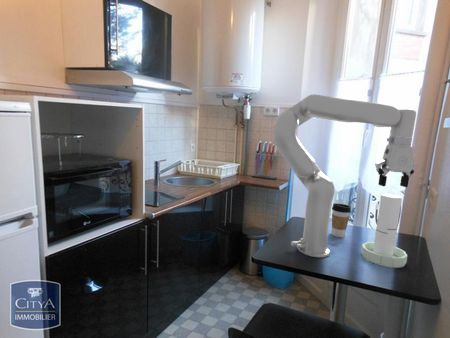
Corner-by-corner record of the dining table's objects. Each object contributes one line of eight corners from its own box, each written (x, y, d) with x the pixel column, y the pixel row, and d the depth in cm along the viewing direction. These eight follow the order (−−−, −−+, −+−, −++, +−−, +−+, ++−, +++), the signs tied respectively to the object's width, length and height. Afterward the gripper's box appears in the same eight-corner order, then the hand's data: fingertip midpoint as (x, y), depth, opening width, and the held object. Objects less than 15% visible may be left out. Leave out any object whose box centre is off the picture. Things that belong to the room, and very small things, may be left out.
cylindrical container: (395, 261, 116) (405, 199, 113) (375, 259, 118) (384, 196, 114) (389, 254, 123) (398, 194, 120) (370, 251, 125) (378, 193, 121)
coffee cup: (325, 232, 148) (328, 202, 146) (339, 231, 150) (343, 202, 148) (336, 238, 140) (340, 207, 138) (351, 237, 143) (355, 207, 140)
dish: (378, 268, 112) (380, 258, 111) (353, 250, 127) (354, 242, 126) (414, 267, 115) (416, 257, 114) (386, 250, 130) (387, 241, 129)
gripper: (386, 141, 109) (379, 187, 111) (427, 144, 112) (419, 189, 115) (373, 139, 116) (366, 183, 118) (411, 142, 119) (404, 184, 122)
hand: (392, 186), depth 116 cm, fingers open, 9 cm apart
